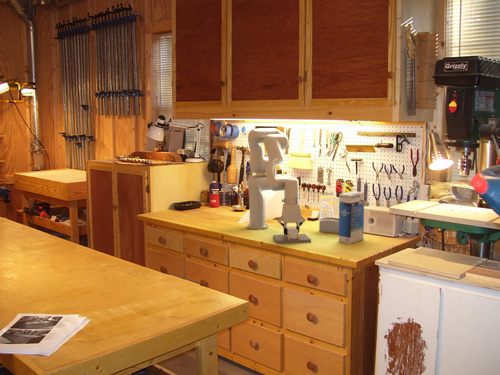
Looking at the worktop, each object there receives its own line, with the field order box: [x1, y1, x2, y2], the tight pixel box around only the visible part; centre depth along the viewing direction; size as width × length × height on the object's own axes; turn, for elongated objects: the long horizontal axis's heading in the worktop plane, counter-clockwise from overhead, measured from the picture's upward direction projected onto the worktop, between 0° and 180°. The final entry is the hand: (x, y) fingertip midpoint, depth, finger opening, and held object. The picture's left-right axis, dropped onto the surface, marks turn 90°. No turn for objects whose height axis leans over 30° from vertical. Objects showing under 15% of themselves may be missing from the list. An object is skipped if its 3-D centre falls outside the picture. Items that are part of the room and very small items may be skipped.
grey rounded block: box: [318, 216, 339, 234], centre depth 293 cm, size 17×5×10 cm, turn 60°
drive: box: [285, 225, 299, 239], centre depth 275 cm, size 9×6×5 cm, turn 5°
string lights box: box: [338, 190, 365, 245], centre depth 271 cm, size 13×8×26 cm, turn 135°
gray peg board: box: [272, 232, 312, 245], centre depth 275 cm, size 14×18×4 cm
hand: (291, 234), depth 275 cm, fingers closed on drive, 5 cm apart
